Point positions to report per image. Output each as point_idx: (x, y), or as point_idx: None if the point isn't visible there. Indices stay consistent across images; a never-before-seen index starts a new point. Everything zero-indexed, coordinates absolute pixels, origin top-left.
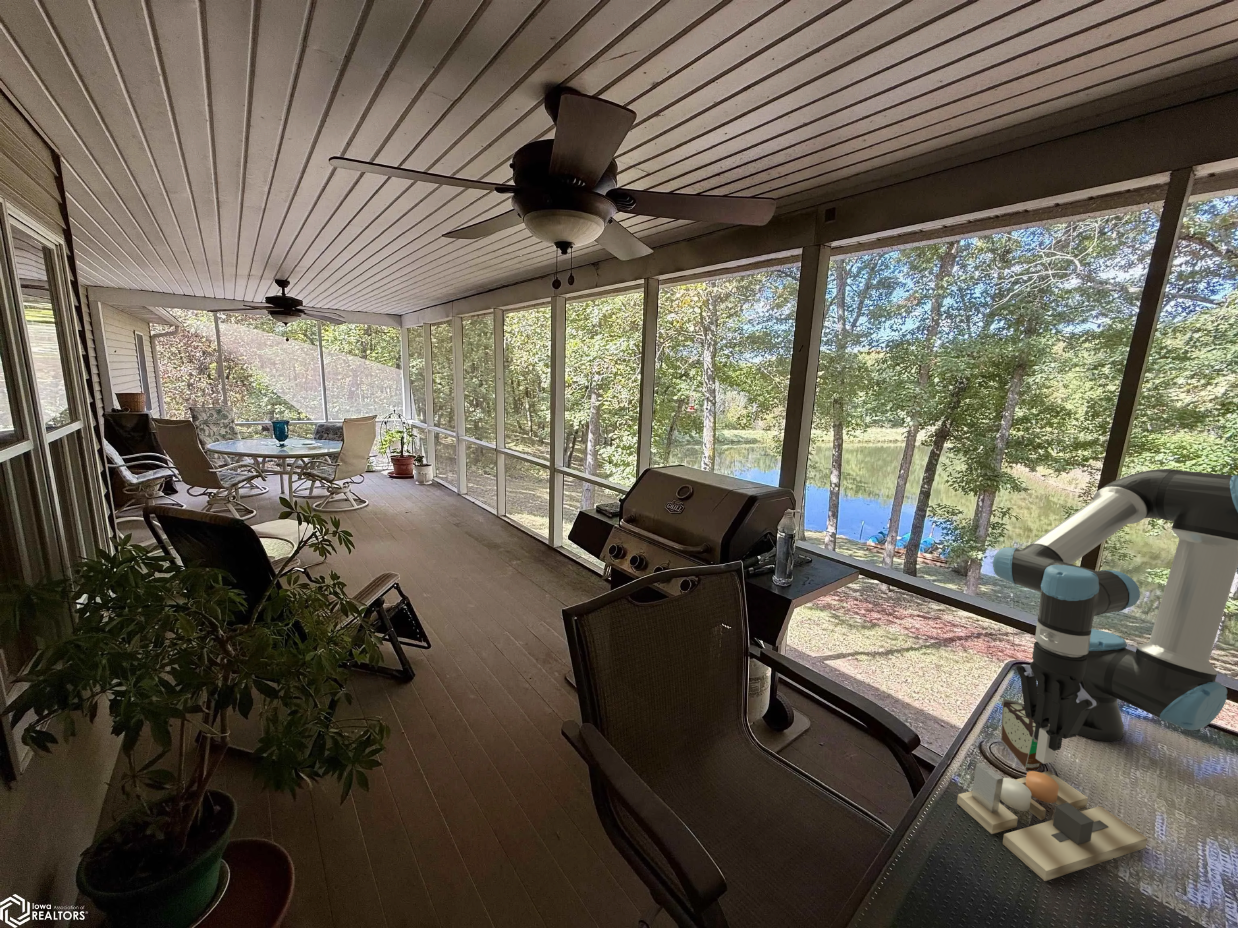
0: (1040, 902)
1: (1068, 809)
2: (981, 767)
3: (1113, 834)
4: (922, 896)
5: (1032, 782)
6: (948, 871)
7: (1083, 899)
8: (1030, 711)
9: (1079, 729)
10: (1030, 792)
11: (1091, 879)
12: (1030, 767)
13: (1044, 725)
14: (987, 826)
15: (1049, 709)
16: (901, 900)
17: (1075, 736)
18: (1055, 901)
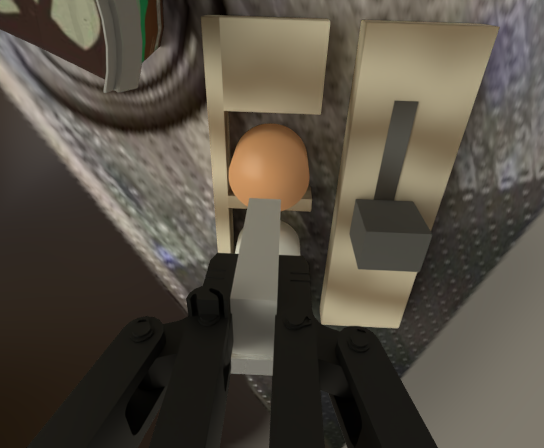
0: (406, 342)
1: (380, 252)
2: (233, 372)
3: (435, 119)
4: (332, 427)
5: None
6: (321, 392)
7: (440, 291)
8: (157, 406)
9: (407, 396)
10: (291, 251)
11: (434, 246)
12: (160, 34)
13: (231, 341)
14: None
15: (212, 436)
16: (326, 441)
17: (374, 336)
18: (417, 325)
